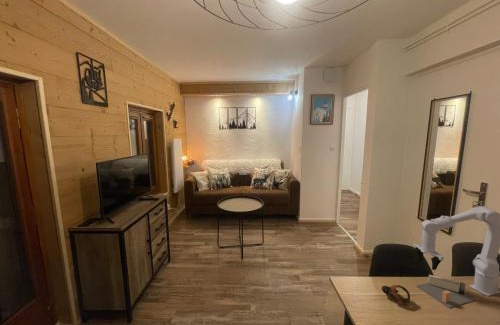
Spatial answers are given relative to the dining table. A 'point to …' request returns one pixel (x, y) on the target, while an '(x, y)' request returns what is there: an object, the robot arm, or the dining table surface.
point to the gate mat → (454, 298)
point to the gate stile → (446, 296)
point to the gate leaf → (444, 283)
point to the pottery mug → (394, 292)
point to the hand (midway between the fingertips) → (426, 265)
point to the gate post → (462, 288)
